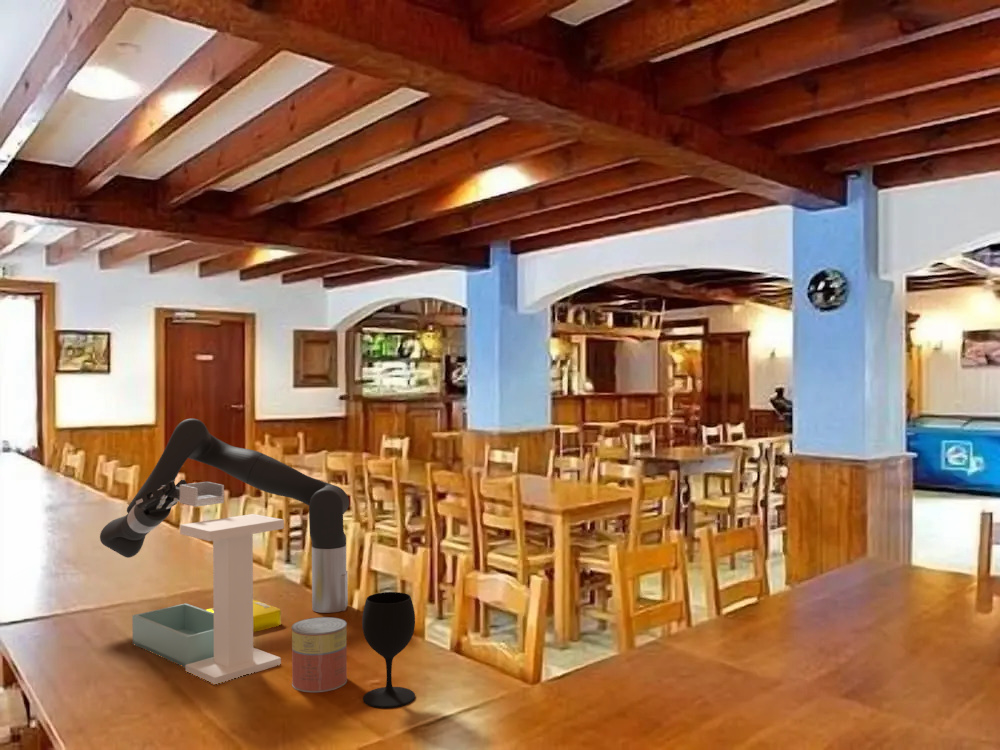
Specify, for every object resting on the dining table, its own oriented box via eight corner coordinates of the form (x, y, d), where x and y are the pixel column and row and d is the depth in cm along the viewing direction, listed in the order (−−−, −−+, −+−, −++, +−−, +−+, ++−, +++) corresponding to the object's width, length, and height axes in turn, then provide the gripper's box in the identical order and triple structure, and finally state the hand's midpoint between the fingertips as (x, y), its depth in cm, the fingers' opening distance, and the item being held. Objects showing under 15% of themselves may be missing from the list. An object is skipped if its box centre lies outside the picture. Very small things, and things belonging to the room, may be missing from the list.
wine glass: (423, 691, 171) (423, 593, 171) (401, 711, 161) (400, 606, 161) (377, 685, 175) (377, 589, 174) (353, 704, 165) (352, 602, 165)
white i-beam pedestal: (181, 672, 182) (180, 524, 182) (254, 651, 196) (253, 513, 196) (210, 686, 175) (209, 531, 174) (284, 663, 188) (283, 519, 188)
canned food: (327, 668, 185) (327, 613, 185) (357, 682, 177) (357, 624, 177) (281, 682, 177) (281, 625, 177) (310, 697, 169) (310, 637, 169)
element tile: (284, 626, 217) (283, 607, 217) (229, 639, 206) (229, 620, 206) (254, 614, 228) (254, 596, 228) (201, 626, 217) (201, 608, 217)
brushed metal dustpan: (151, 495, 202) (151, 478, 202) (179, 492, 207) (179, 475, 207) (195, 506, 189) (195, 488, 188) (223, 502, 194) (223, 485, 194)
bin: (132, 644, 202) (132, 615, 202) (186, 631, 212) (185, 603, 212) (187, 669, 185) (187, 637, 185) (242, 653, 195) (242, 622, 195)
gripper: (117, 502, 206) (146, 472, 196) (171, 496, 216) (201, 466, 207) (124, 531, 204) (154, 501, 194) (178, 523, 214) (210, 494, 204)
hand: (179, 483), depth 200 cm, fingers closed on brushed metal dustpan, 2 cm apart
